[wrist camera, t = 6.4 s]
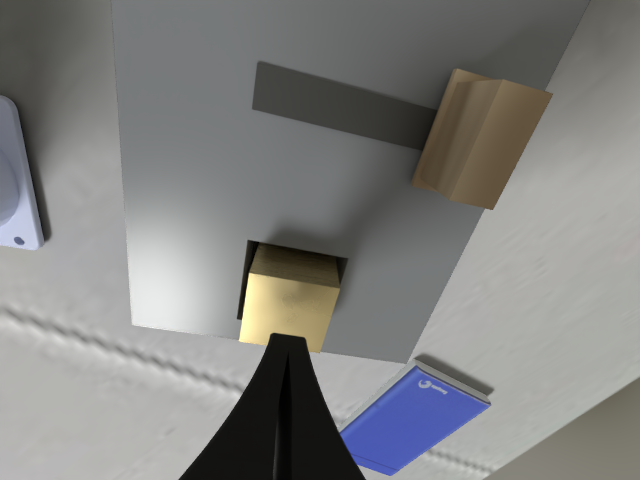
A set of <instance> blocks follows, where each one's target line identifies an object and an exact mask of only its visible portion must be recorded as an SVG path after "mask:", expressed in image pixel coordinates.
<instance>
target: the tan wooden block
mask: <svg viewBox="0 0 640 480" xmlns="http://www.w3.org/2000/svg"><path fill="white" fill-rule="evenodd" d="M552 95H553V94H552V93H549V92H545V91H542V90H538V89H535V88H531V87H528V86H524V85H521V84H518V83H514V82H511V81H507V80H504V79H500V80H495V79H492V78H488V77H485V76H481V75H478V74H474V73H471V72H467V71H464V70H461V69H453V72H452V74H451V77H450V80H449V82H448V85H447V88H446V90H445V93H444V96H443V98H442V101H441V104H440V107H439V109H438V112H437V115H436V117H435V120H434V123H433V125H432V128H431V131H430V133H429V136H428V139H427V141H426V144H425V147H424V149H423V152H422V155H421V157H420V160H419V163H418V165H417V168H416V171H415V173H414V176H413V179H412V181H411V184H410V185H412V186H413V187H417V188H422V189H426V190H431V191H435V192H439V193H440V194H442V195H443V196H444V197H446V198H447V199H448V200H450V201H455V202H459V203H463V204H468V205H472V206H477V207H481V208H486V209H490V210H493V209H494V207H495V205H496V203H497V201H498V199H499V197H500V195H501V193H502V191H503V189H504V187H505V186H506V184H507V182H508V180H509V178H510V176H511V174H512V172H513V170H514V168H515V166H516V164H517V162H518V161H519V159H520V157H521V155H522V153H523V151H524V149H525V147H526V145H527V143H528V141H529V139H530V137H531V136H532V134H533V132H534V130H535V128H536V126H537V124H538V122H539V120H540V118H541V116H542V114H543V112H544V110H545V109H546V107H547V105H548V103H549V101H550V99H551V97H552Z"/></svg>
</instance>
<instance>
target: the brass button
mask: <svg viewBox="0 0 640 480" xmlns="http://www.w3.org/2000/svg"><path fill="white" fill-rule="evenodd" d="M339 291H340V284H339V278H338V272H337V265H336V259H335V256H333V255H328V254H322V253H317V252H312V251H306V250H301V249H296V248H290V247H285V246H280V245H274V244H269V243H263V242H259V245H258V248H257V251H256V254H255V257H254V260H253V263H252V266H251V269H250V272H249V278H248V284H247V291H246V298H245V305H244V312H243V318H242V325H241V332H240V339H239V342H245V343H252V344H260V345H268V342H269V338H270V334H272V333H280V334H287V335H293V336H300V337H305V339H306V341H307V347H308V351H309V352H316V353H320V351H321V348H322V345H323V341H324V338H325V335H326V332H327V329H328V326H329V323H330V319H331V316H332V313H333V310H334V307H335V304H336V300H337V297H338V294H339Z"/></svg>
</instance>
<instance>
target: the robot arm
mask: <svg viewBox="0 0 640 480" xmlns="http://www.w3.org/2000/svg"><path fill="white" fill-rule="evenodd" d="M21 238H22V239H23V240H24V241H23V240H22V239H21ZM0 245H4V246H10V247H16V248H22V249H28V250H37V249H39V248H41V247H42V246H43V245H44V238H43V233H42V228H41V223H40V219H39V214H38V209H37V204H36V199H35V194H34V189H33V184H32V179H31V174H30V169H29V164H28V159H27V155H26V150H25V145H24V140H23V135H22V130H21V125H20V120H19V115H18V110H17V108H16V105H15V104H14V103H13V101H11V100H10V99H9V98H7V97H5V96H2V95H0ZM274 455H275V457H274ZM273 471H274V473H273ZM179 480H366V479H365V477H364V476H363V474H362V472H361V471H360V469H359V467H358V466H357V464H356V462H355V461H354V459H353V457H352V456H351V454H350V452H349V450H348V448H347V446H346V445H345V443H344V441H343V439H342V437H341V435H340V433H339V431H338V429H337V427H336V425H335V423H334V421H333V418H332V416H331V414H330V412H329V409H328V407H327V405H326V402H325V400H324V397H323V395H322V392H321V389H320V387H319V384H318V381H317V378H316V375H315V372H314V369H313V366H312V362H311V359H310V355H309V351H308V347H307V341H306V339H305V337H300V336H293V335H287V334H280V333H272V334H270V338H269V342H268V345H267V348H266V350H265V353H264V355H263V357H262V359H261V362H260V364H259V365H258V367H257V369H256V371H255V373H254V375H253V377H252V379H251V381H250V382H249V384H248V386H247V387H246V389H245V391H244V392H243V394H242V396H241V397H240V399H239V401H238V402H237V404H236V405H235V407H234V408H233V410H232V411H231V413H230V414H229V416H228V417H227V419H226V420H225V421H224V423H223V424H222V426H221V427H220V428H219V430H218V431H217V432H216V434H215V435H214V436H213V438H212V439H211V440H210V442H209V443H208V444H207V446H206V447H205V448H204V450H203V451H202V452H201V453H200V455H199V456H198V457H197V458H196V459H195V461H194V462H193V463H192V464H191V465H190V467H189V468H188V469H187V470H186V471H185V473H184V474H183V475H182V476H181V477H180V478H179Z"/></svg>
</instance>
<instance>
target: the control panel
mask: <svg viewBox="0 0 640 480" xmlns="http://www.w3.org/2000/svg"><path fill="white" fill-rule="evenodd" d="M589 2H590V0H111V10H112V25H113V40H114V56H115V71H116V86H117V102H118V117H119V132H120V148H121V163H122V178H123V194H124V209H125V224H126V240H127V255H128V270H129V286H130V301H131V316H132V325H137V326H144V327H151V328H158V329H165V330H172V331H179V332H186V333H193V334H200V335H207V336H214V337H221V338H228V339H235V340H239V339H240V332H241V325H242V318H243V312H244V305H245V298H246V291H247V284H248V277H249V270H250V263H251V257H252V250H253V243H254V241H258V242H263V243H269V244H274V245H280V246H285V247H290V248H296V249H301V250H306V251H312V252H317V253H322V254H328V255H333V256H336V257H335V259H336V265H337V272H338V278H339V284H340V291H339V294H338V297H337V300H336V304H335V307H334V310H333V313H332V316H331V319H330V323H329V326H328V329H327V332H326V335H325V338H324V341H323V345H322V348H321V351H320V352H327V353H334V354H341V355H348V356H355V357H362V358H369V359H376V360H383V361H390V362H397V363H404V364H407V362H408V360H409V358H410V356H411V354H412V352H413V350H414V348H415V346H416V344H417V342H418V340H419V338H420V336H421V334H422V332H423V330H424V328H425V326H426V324H427V322H428V320H429V318H430V316H431V314H432V312H433V310H434V308H435V306H436V304H437V302H438V300H439V298H440V296H441V294H442V292H443V290H444V288H445V286H446V284H447V283H448V281H449V279H450V277H451V275H452V273H453V271H454V269H455V267H456V265H457V263H458V261H459V259H460V257H461V255H462V253H463V251H464V249H465V247H466V245H467V243H468V241H469V239H470V237H471V235H472V233H473V231H474V229H475V227H476V225H477V223H478V221H479V219H480V217H481V215H482V213H483V211H484V209H485V208H481V207H477V206H472V205H468V204H463V203H459V202H455V201H450V200H448V199H447V198H446V197H444V196H443V195H442V194H440V193H439V192H435V191H431V190H426V189H422V188H417V187H413V186H412V185H410V184H411V181H412V179H413V176H414V173H415V171H416V168H417V165H418V163H419V160H420V157H421V155H422V152H423V149H424V147H425V144H426V141H427V139H428V136H429V133H430V131H431V128H432V125H433V123H434V120H435V117H436V115H437V112H438V109H439V107H440V104H441V101H442V98H443V96H444V93H445V90H446V88H447V85H448V82H449V80H450V77H451V74H452V72H453V69H461V70H464V71H467V72H471V73H474V74H478V75H481V76H485V77H488V78H492V79H495V80H500V79H504V80H507V81H511V82H514V83H518V84H521V85H524V86H528V87H531V88H535V89H538V90H542V91H545V89H546V87H547V85H548V83H549V81H550V79H551V77H552V75H553V73H554V71H555V69H556V67H557V65H558V63H559V61H560V59H561V57H562V55H563V53H564V51H565V49H566V47H567V45H568V43H569V41H570V39H571V37H572V36H573V34H574V32H575V30H576V28H577V26H578V24H579V22H580V20H581V18H582V16H583V14H584V12H585V10H586V8H587V6H588V4H589Z"/></svg>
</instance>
